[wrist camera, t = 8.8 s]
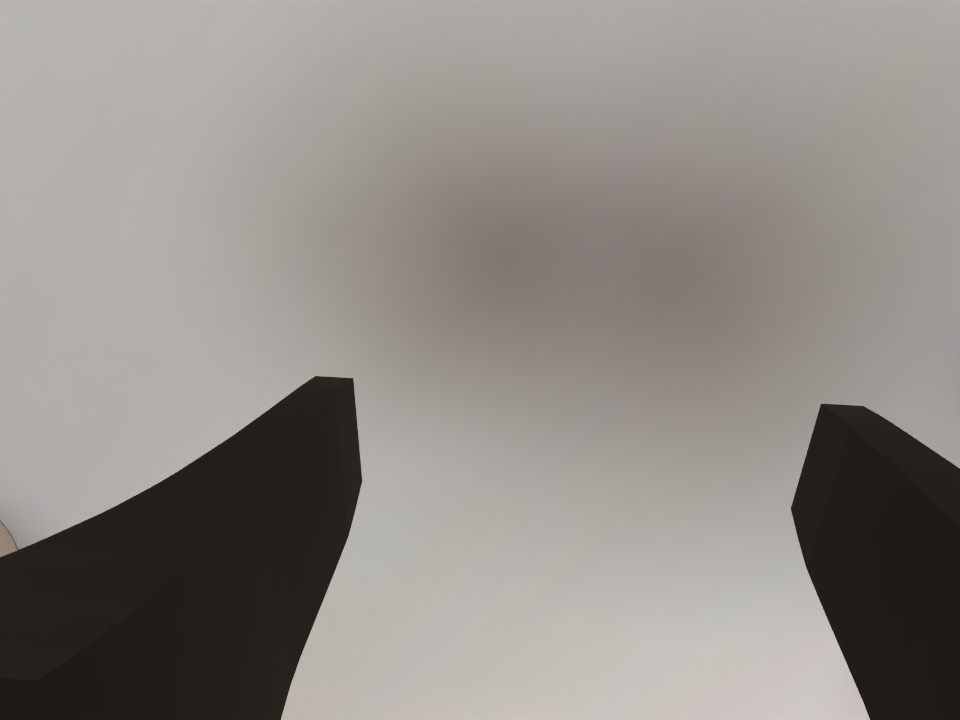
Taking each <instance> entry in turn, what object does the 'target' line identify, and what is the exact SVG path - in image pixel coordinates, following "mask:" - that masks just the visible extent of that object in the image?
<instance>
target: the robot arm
mask: <svg viewBox="0 0 960 720" xmlns="http://www.w3.org/2000/svg"><path fill="white" fill-rule="evenodd" d="M361 483H362V475H361V463H360V452H359V440H358V429H357V417H356V406H355V395H354V383H353V378H337V377H319V376H315V377H314V378H312V379H311V380H309V381H308V382H306V383H305V384H303V385H302V386H300V387H299V388H298V389H296V390H295V391H294V392H292V393H291V394H289V395H288V396H287V397H285V398H284V399H283V400H281V401H280V402H279V403H277V404H276V405H275V406H273V407H272V408H271V409H269V410H268V411H267V412H265V413H264V414H262V415H261V416H260V417H258V418H257V419H255V420H254V421H253V422H251V423H250V424H249V425H247V426H246V427H244V428H243V429H242V430H240V431H239V432H237V433H236V434H235V435H233V436H232V437H230V438H229V439H227V440H226V441H224V442H223V443H221V444H220V445H218V446H217V447H215V448H214V449H212V450H211V451H209V452H207V453H206V454H204V455H203V456H201V457H200V458H198V459H197V460H195V461H194V462H192V463H191V464H189V465H187V466H186V467H184V468H183V469H181V470H180V471H178V472H177V473H175V474H173V475H171V476H170V477H168V478H166V479H165V480H163V481H161V482H160V483H158V484H156V485H154V486H153V487H151V488H149V489H147V490H145V491H143V492H142V493H140V494H138V495H136V496H134V497H132V498H130V499H128V500H126V501H125V502H123V503H121V504H119V505H117V506H115V507H113V508H111V509H109V510H107V511H105V512H103V513H101V514H99V515H97V516H95V517H92V518H90V519H88V520H86V521H83V522H81V523H79V524H77V525H75V526H72V527H70V528H68V529H66V530H63V531H61V532H59V533H57V534H55V535H52V536H50V537H48V538H46V539H43V540H41V541H39V542H37V543H35V544H32V545H30V546H27V547H25V548H22V549H20V550H17V551H15V552H12V553H10V554H7V555H4V556H2V557H0V720H281V716H282V713H283V709H284V706H285V702H286V699H287V695H288V692H289V688H290V685H291V682H292V679H293V676H294V673H295V671H296V668H297V665H298V662H299V659H300V656H301V654H302V651H303V649H304V646H305V644H306V641H307V639H308V636H309V634H310V631H311V629H312V626H313V624H314V621H315V619H316V616H317V614H318V611H319V609H320V606H321V604H322V601H323V599H324V596H325V594H326V592H327V589H328V587H329V584H330V582H331V579H332V577H333V574H334V571H335V569H336V566H337V564H338V561H339V559H340V556H341V554H342V551H343V549H344V546H345V543H346V541H347V538H348V535H349V532H350V528H351V524H352V520H353V516H354V513H355V509H356V504H357V500H358V496H359V492H360V488H361ZM791 511H792V515H793V519H794V523H795V527H796V531H797V535H798V539H799V543H800V547H801V550H802V554H803V557H804V561H805V564H806V568H807V570H808V573H809V575H810V578H811V580H812V583H813V585H814V587H815V590H816V592H817V595H818V597H819V599H820V602H821V604H822V606H823V609H824V611H825V614H826V616H827V618H828V621H829V623H830V625H831V628H832V630H833V632H834V635H835V637H836V639H837V642H838V644H839V646H840V649H841V651H842V653H843V656H844V658H845V660H846V662H847V665H848V667H849V669H850V672H851V674H852V676H853V679H854V681H855V683H856V686H857V688H858V690H859V693H860V695H861V697H862V700H863V702H864V705H865V707H866V710H867V713H868V715H869V718H870V720H960V469H959V468H958V467H956V466H955V465H953V464H952V463H951V462H949V461H948V460H946V459H945V458H943V457H942V456H940V455H939V454H937V453H936V452H934V451H933V450H931V449H930V448H928V447H927V446H925V445H924V444H922V443H921V442H919V441H918V440H917V439H915V438H914V437H912V436H911V435H909V434H908V433H906V432H905V431H903V430H902V429H900V428H898V427H897V426H895V425H894V424H892V423H891V422H889V421H888V420H886V419H885V418H883V417H881V416H880V415H878V414H876V413H875V412H873V411H871V410H869V409H867V408H866V407H864V406H851V405H833V404H821V406H820V410H819V413H818V417H817V420H816V423H815V427H814V430H813V434H812V437H811V441H810V444H809V448H808V451H807V455H806V458H805V462H804V465H803V469H802V472H801V476H800V479H799V483H798V486H797V490H796V493H795V497H794V500H793V503H792V507H791Z"/></svg>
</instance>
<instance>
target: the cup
mask: <svg viewBox="0 0 960 720" xmlns="http://www.w3.org/2000/svg"><path fill="white" fill-rule="evenodd" d="M15 551H17V547H16V545H15V543H14V541H13V539H12V537H11V535H10V534H9V532H8V531H7V529H6V528H5V527H4V526H3V524H2V523H1V522H0V557H2V556H4V555H7V554H10V553H12V552H15Z"/></svg>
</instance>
